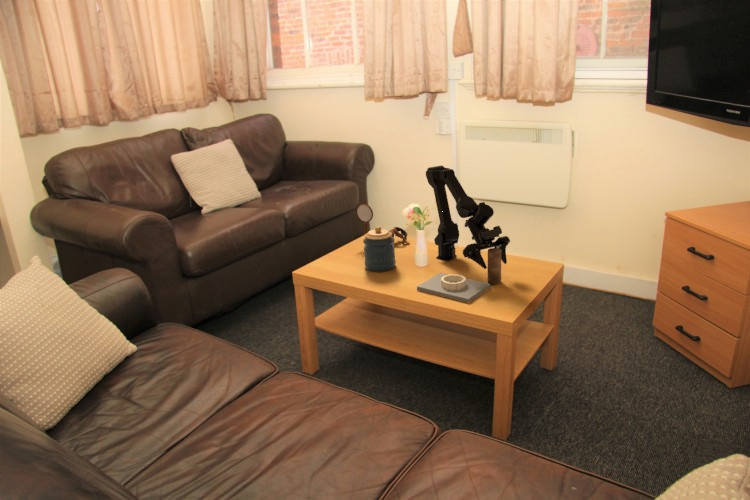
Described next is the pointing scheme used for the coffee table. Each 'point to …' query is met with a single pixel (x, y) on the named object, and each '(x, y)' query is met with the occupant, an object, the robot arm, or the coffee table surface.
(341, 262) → the coffee table surface
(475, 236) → the robot arm
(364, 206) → the magnifying glass
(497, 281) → the walnut column
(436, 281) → the base board
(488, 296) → the coffee table surface
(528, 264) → the coffee table surface
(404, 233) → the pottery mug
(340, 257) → the coffee table surface
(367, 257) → the canister
